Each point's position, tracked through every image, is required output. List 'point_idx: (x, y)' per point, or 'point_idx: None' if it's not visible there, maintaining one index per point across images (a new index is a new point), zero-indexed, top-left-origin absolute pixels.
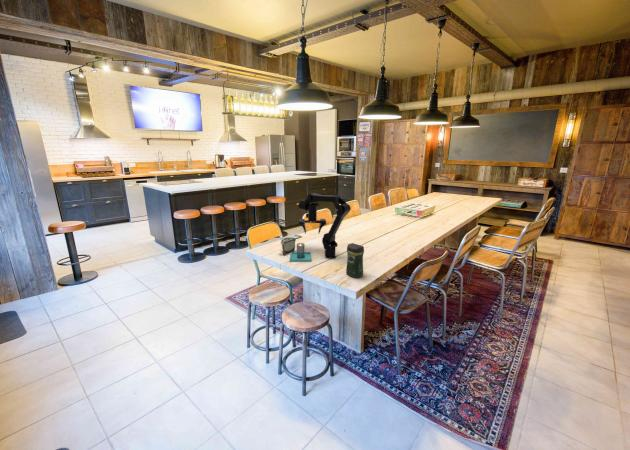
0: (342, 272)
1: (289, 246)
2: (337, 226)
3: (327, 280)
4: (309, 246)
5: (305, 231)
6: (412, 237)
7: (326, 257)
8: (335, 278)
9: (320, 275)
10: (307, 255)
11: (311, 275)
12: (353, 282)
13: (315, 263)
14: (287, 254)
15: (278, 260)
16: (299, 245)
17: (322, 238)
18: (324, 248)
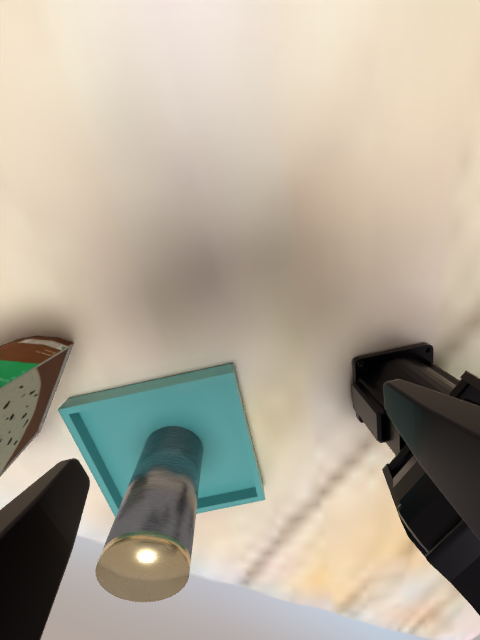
0: None
1: (1, 440)
2: None
3: (364, 618)
4: (160, 149)
5: (53, 585)
6: None
7: (363, 422)
8: (399, 600)
9: (333, 594)
10: (214, 413)
11: (292, 602)
12: (468, 609)
13: (292, 498)
14: (46, 413)
15: None
16: (146, 601)
17: (441, 571)
18: (385, 471)
